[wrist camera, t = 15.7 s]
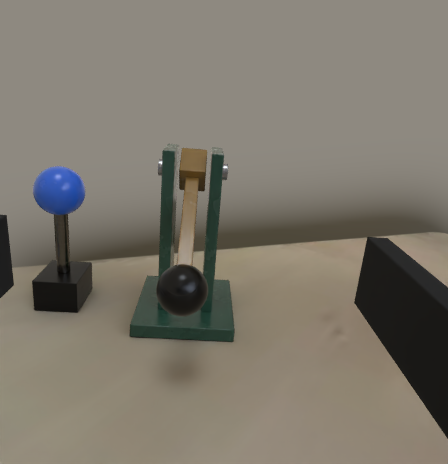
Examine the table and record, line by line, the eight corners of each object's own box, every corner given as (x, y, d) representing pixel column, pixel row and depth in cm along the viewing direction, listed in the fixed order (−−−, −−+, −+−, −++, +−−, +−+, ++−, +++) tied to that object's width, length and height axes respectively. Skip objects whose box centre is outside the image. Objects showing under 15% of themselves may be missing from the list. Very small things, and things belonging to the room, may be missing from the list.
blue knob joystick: (94, 288, 43) (91, 164, 38) (80, 312, 38) (74, 173, 34) (51, 286, 42) (44, 160, 38) (32, 310, 38) (20, 169, 33)
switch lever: (205, 326, 29) (208, 302, 26) (154, 323, 28) (151, 299, 25) (213, 174, 38) (215, 144, 35) (174, 171, 38) (173, 141, 35)
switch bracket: (233, 342, 35) (251, 162, 30) (129, 336, 35) (131, 152, 30) (228, 290, 45) (241, 146, 40) (147, 285, 44) (150, 139, 39)
